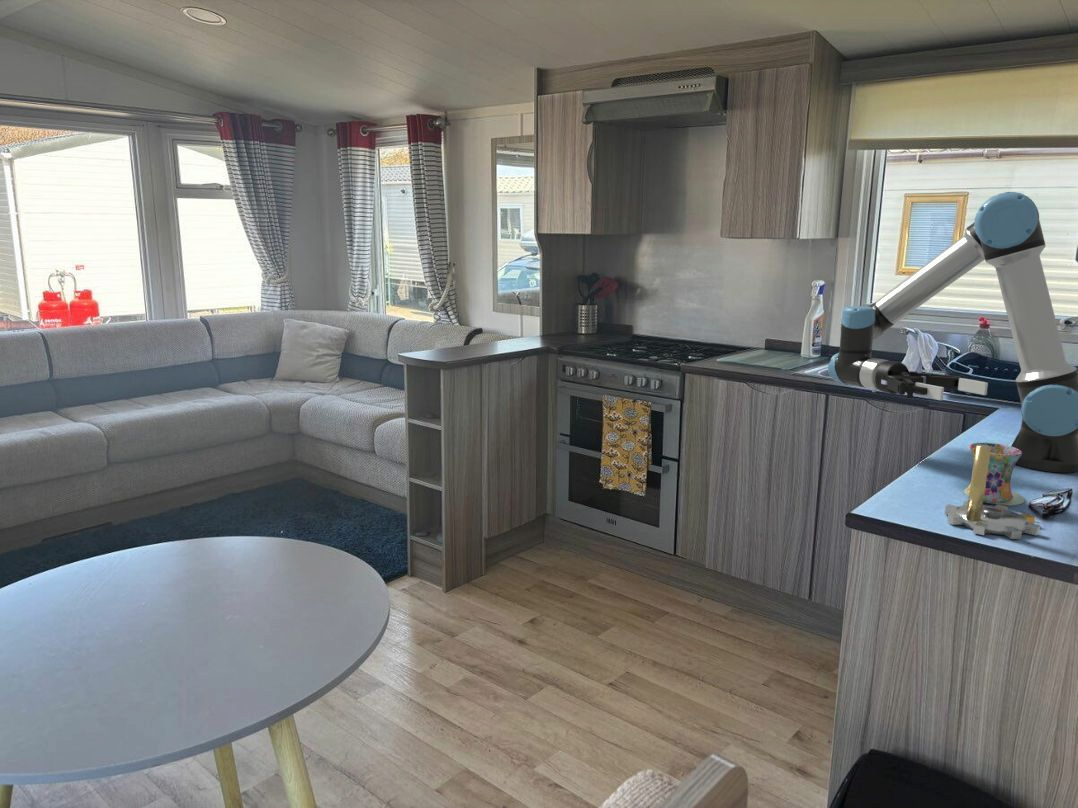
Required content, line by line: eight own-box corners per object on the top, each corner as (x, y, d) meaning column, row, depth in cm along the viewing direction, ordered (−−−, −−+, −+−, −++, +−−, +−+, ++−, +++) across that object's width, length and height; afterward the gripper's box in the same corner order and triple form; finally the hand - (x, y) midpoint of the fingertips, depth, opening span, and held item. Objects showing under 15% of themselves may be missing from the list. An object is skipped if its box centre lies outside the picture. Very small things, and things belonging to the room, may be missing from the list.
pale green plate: (987, 485, 174) (987, 483, 174) (1036, 501, 164) (1036, 499, 164) (952, 491, 170) (952, 489, 169) (1000, 508, 160) (1000, 506, 160)
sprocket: (981, 505, 160) (992, 430, 157) (1055, 531, 147) (1069, 450, 144) (927, 515, 154) (938, 437, 151) (1000, 543, 141) (1013, 458, 137)
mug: (1024, 506, 160) (1032, 455, 157) (977, 505, 160) (984, 454, 158) (992, 487, 172) (999, 439, 169) (948, 486, 172) (955, 438, 169)
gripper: (921, 387, 196) (1001, 403, 177) (844, 395, 186) (921, 413, 167) (924, 357, 194) (1005, 370, 176) (846, 363, 184) (924, 378, 165)
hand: (964, 391), depth 171 cm, fingers open, 13 cm apart
